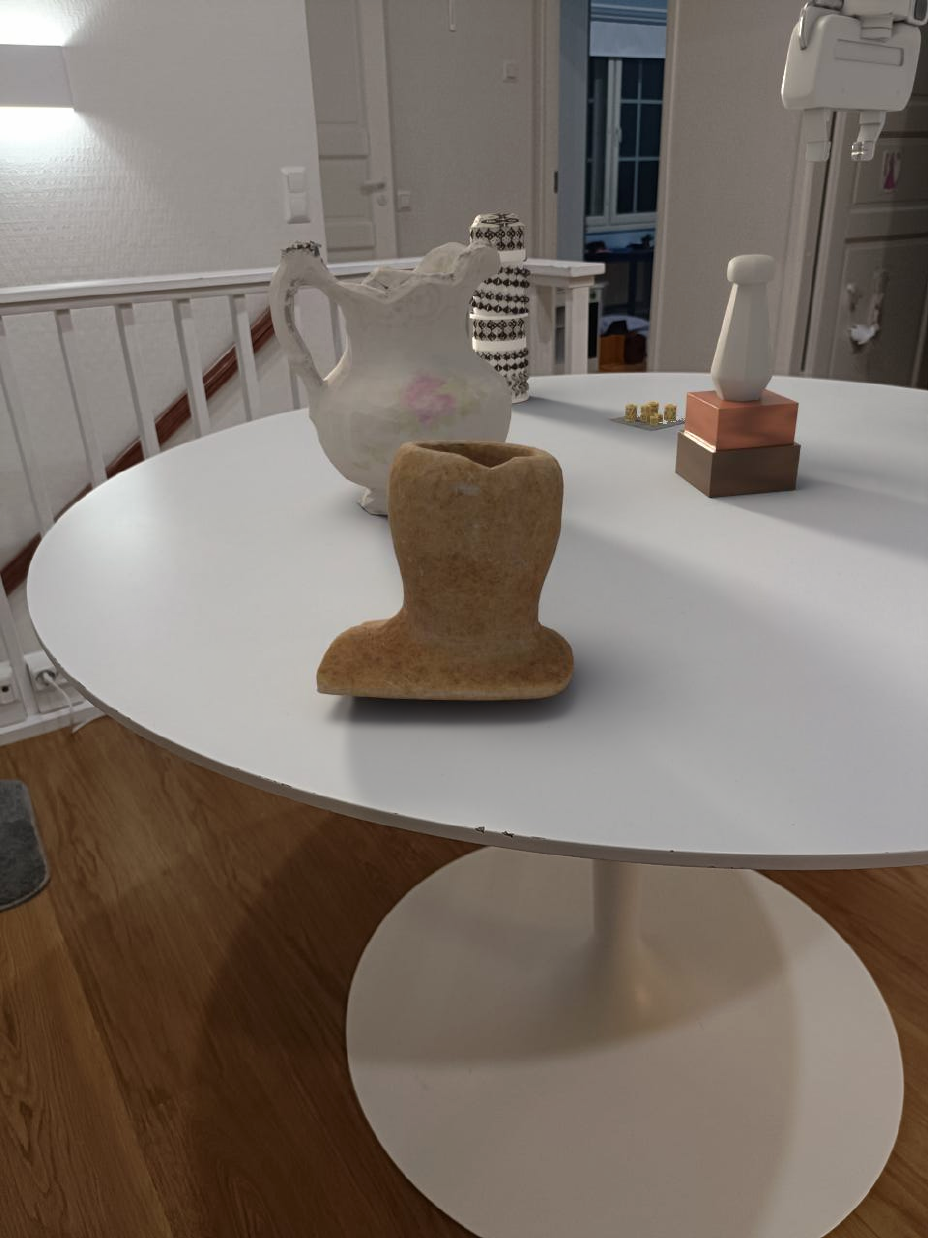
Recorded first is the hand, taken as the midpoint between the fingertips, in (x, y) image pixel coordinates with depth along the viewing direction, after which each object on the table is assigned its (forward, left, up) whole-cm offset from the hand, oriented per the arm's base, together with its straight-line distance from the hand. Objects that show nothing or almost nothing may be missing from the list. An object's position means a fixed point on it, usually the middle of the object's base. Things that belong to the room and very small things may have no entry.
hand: (839, 161), depth 92 cm
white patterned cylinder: (+38, -25, -29) cm, 54 cm away
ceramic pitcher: (+44, +23, -29) cm, 58 cm away
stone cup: (+35, +58, -29) cm, 74 cm away
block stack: (+11, +17, -29) cm, 35 cm away
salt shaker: (+11, +17, -21) cm, 29 cm away
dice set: (+17, -10, -29) cm, 35 cm away
